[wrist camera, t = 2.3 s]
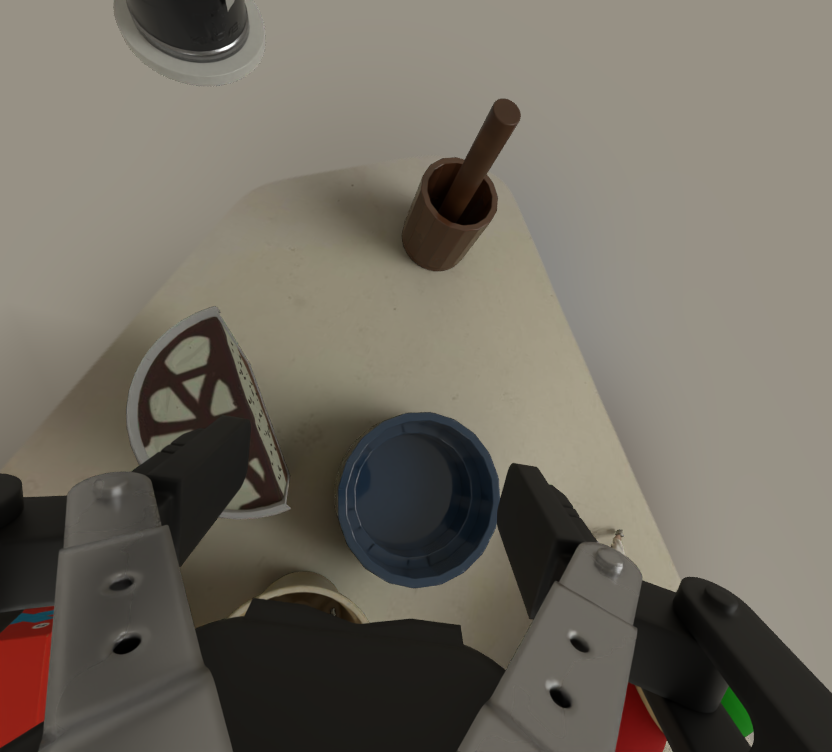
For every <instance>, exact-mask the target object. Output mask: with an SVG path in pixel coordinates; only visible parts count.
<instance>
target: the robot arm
mask: <svg viewBox="0 0 832 752" xmlns="http://www.w3.org/2000/svg"><path fill="white" fill-rule="evenodd" d="M126 4H127V7H128V10H129V12H130V15H131V17H132V19H133V22H134V24H135V26H136V28H137V29H138V31H139V32H140V34H141V35H142V36H143V37H144V38H145V39H146V40H147V41H148V42H149V43H150V44H151V45H153V46H154V47H155V48H157V49H158V50H160V51H161V52H163V53H165V54H167V55H169V56H172V57H174V58H177V59H180V60H184V61H188V62H195V63H211V62H217V61H221V60H225V59H227V58H229V57H231V56H233V55H235V54H236V53H237V52H238V51H240V50H241V49H242V47H243V46H244V45H245V43H246V41H247V39H248V36H249V29H250V26H249V18H248V12H247V7H246V4H245V0H126ZM250 435H251V422H250V420H249V419H244V418H238V417H232V416H226V415H222V416H221V417H219V418H218V419H217V420H215V421H214V422H213V423H212V424H210V425H209V426H208V427H207V428H205V429H203V428H198V429H196V430H193V431H190V432H187V433H184V434H182V435H181V436H179V437H178V438H177V439H175V440H174V441H172V442H171V444H170V445H169V444H168V445H167V446H166V447H164V448H163V449H162V450H161V452H157V453H156V454H155V455H153V456H152V457H151V458H149V459H148V460H146V461H145V462H144V463H142V464H141V465H140V466H138V467H137V468H135V469H134V470H133V471H131V472H112V473H105V474H101V475H97V476H94V477H91V478H88V479H86V480H83V481H82V482H80V483H78V484H76V485H75V486H74V487H73V488H72V489H71V490H70V491H69V492H68V495H67V496H46V497H23V490H22V482H21V480H20V479H19V478H17V477H15V476H12V475H8V474H0V633H1V632H2V631H3V630H4V629H5V628H6V627H7V626H9V625H10V624H11V623H12V622H13V621H14V620H15V619H16V618H17V617H18V616H19V615H20V614H21V613H22V612H23V611H24V610H25V609H32V608H40V607H48V606H54V614H53V626H52V637H51V649H50V661H49V672H48V684H47V695H46V707H45V719H44V721H43V722H41V723H39V724H38V725H36V726H35V727H33V728H31V729H30V730H28V731H27V732H25V733H23V734H22V735H20V736H19V737H17V738H15V739H14V740H12V741H11V742H9V743H7V744H6V745H4V746H2V747H1V748H0V752H615V749H616V744H617V739H618V733H619V728H620V723H621V717H622V712H623V706H624V701H625V696H626V690H627V685H628V682H629V683H631V684H634V685H636V686H638V687H641V689H642V691H643V693H644V695H645V697H646V699H647V701H648V703H649V705H650V707H651V709H652V711H653V713H654V715H655V717H656V719H657V721H658V723H659V725H660V727H661V729H662V731H663V733H664V735H665V737H666V739H667V741H668V743H669V745H670V747H671V749H672V751H673V752H832V693H831V692H830V691H829V690H828V689H827V688H826V687H825V686H824V685H823V684H822V683H821V682H820V681H819V680H818V679H817V678H816V676H814V674H813V673H812V672H811V671H810V670H809V669H808V668H807V667H806V666H805V665H804V664H803V663H802V662H801V661H800V660H799V659H798V658H797V656H796V655H795V654H794V653H793V652H792V651H791V650H790V649H789V648H788V647H787V646H786V645H785V644H784V643H783V642H782V641H781V640H780V639H779V638H778V636H777V635H776V634H774V632H773V631H772V630H771V629H770V628H769V627H768V626H767V625H766V624H765V623H764V622H763V621H762V620H761V619H760V618H759V617H758V616H757V615H756V613H755V612H754V611H753V610H751V608H750V607H749V606H748V605H747V604H746V603H744V602H743V601H742V600H741V599H740V598H738V597H737V596H735V595H734V594H732V593H731V592H730V591H728V590H726V589H725V588H723V587H721V586H719V585H717V584H715V583H713V582H710V581H707V580H705V579H701V578H697V577H686V578H684V579H682V581H681V583H680V585H679V588H678V590H677V592H673V591H670V590H667V589H665V588H662V587H659V586H656V585H653V584H651V583H648V582H645V581H643V580H642V574H641V572H640V570H639V569H638V567H637V566H636V565H635V564H634V563H633V562H632V561H631V560H630V559H629V558H628V557H626V556H625V555H624V554H622V553H621V552H619V551H617V550H615V549H614V548H611V547H609V546H607V545H604V544H601V543H598V542H597V540H596V539H595V538H594V536H593V535H592V533H591V532H590V530H589V529H588V527H587V526H586V525H585V523H584V522H583V520H582V519H581V518H579V515H578V513H577V512H576V510H575V509H573V506H572V505H571V503H570V502H569V500H568V499H567V497H566V496H565V495H564V494H563V493H561V492H560V491H559V490H558V489H556V488H555V487H554V486H553V485H549V484H548V483H547V481H546V480H545V478H544V476H543V475H542V473H541V472H540V470H539V469H538V468H537V467H534V466H528V465H522V464H516V463H512V464H511V465H510V467H509V469H508V473H507V476H506V480H505V484H504V487H503V491H502V494H501V498H500V502H499V505H498V510H497V526H498V530H499V533H500V535H501V538H502V541H503V544H504V547H505V550H506V553H507V556H508V558H509V561H510V564H511V567H512V570H513V573H514V576H515V578H516V581H517V584H518V587H519V590H520V593H521V596H522V599H523V601H524V604H525V607H526V610H527V613H528V616H529V619H533V622H532V624H531V625H530V627H529V629H528V631H527V633H526V635H525V636H524V638H523V640H522V642H521V644H520V645H519V647H518V649H517V651H516V653H515V655H514V656H513V658H512V660H511V662H510V664H509V666H508V667H507V669H506V670H505V669H503V668H502V667H501V666H500V665H498V664H497V663H496V662H495V661H493V660H492V659H490V658H489V657H487V656H486V655H484V654H482V653H481V652H479V651H477V650H475V649H473V648H471V647H469V646H466V645H464V644H463V639H462V632H461V626H460V625H454V624H447V623H439V622H432V621H424V620H417V619H403V620H394V621H384V622H374V623H364V624H357V623H352V622H349V621H347V620H344V619H342V618H339V617H336V616H334V615H331V614H328V613H326V612H323V611H321V610H318V609H315V608H313V607H310V606H307V605H304V604H296V603H289V602H281V601H274V600H266V599H259V598H253V599H252V601H251V603H250V605H249V607H248V609H247V611H246V613H245V615H244V616H238V617H232V618H227V619H222V620H219V621H216V622H212V623H209V624H206V625H204V626H201V627H199V628H196V629H195V628H194V624H193V620H192V616H191V612H190V608H189V604H188V600H187V596H186V592H185V588H184V584H183V580H182V576H181V572H180V567H181V566H182V564H183V563H184V562H185V560H186V559H187V558H188V556H189V555H190V554H191V552H192V551H193V550H194V549H195V547H196V546H197V545H198V543H199V542H200V541H201V539H202V538H203V537H204V535H205V534H206V533H207V532H208V530H209V529H210V528H211V526H212V525H213V524H214V522H215V521H216V520H217V518H218V517H219V516H220V515H221V513H222V512H223V511H224V509H225V508H226V507H227V505H228V504H229V503H230V501H231V500H232V499H233V498H234V496H235V495H236V494H237V492H238V491H239V490H240V488H241V487H242V485H243V483H244V480H245V477H246V474H247V469H248V459H249V447H250ZM728 686H729V687H730V688H731V690H732V691H733V692H734V694H735V695H736V696H737V698H738V699H739V701H740V702H741V703H742V705H743V706H744V708H745V709H746V711H747V713H748V715H749V717H750V719H751V722H752V725H753V730H754V742H753V745H752V747H751V746H750V745H749V743H748V742H747V741H746V739H745V738H744V736H743V735H742V733H741V732H740V730H739V729H738V727H737V726H736V724H735V723H734V721H733V720H732V718H731V717H730V715H729V714H728V712H727V711H726V709H725V708H724V706H723V705H722V703H721V700H722V698H723V696H724V694H725V692H726V690H727V688H728Z"/></svg>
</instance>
